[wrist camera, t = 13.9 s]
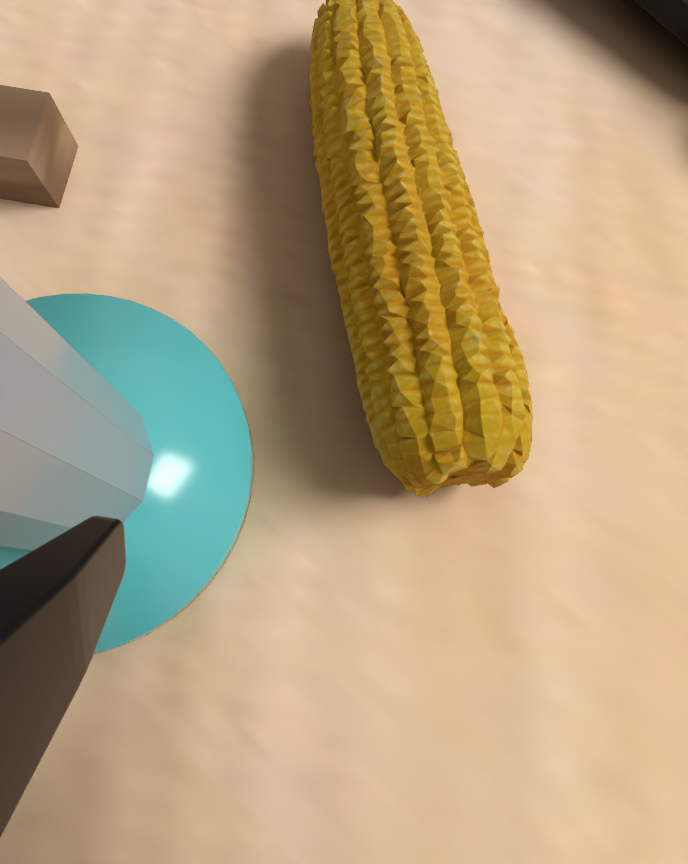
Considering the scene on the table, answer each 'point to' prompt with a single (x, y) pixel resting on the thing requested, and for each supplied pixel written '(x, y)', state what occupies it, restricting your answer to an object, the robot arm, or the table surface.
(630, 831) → the table surface
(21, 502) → the cup
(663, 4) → the toy
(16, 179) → the block
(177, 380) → the dish
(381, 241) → the food
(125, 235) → the table surface
